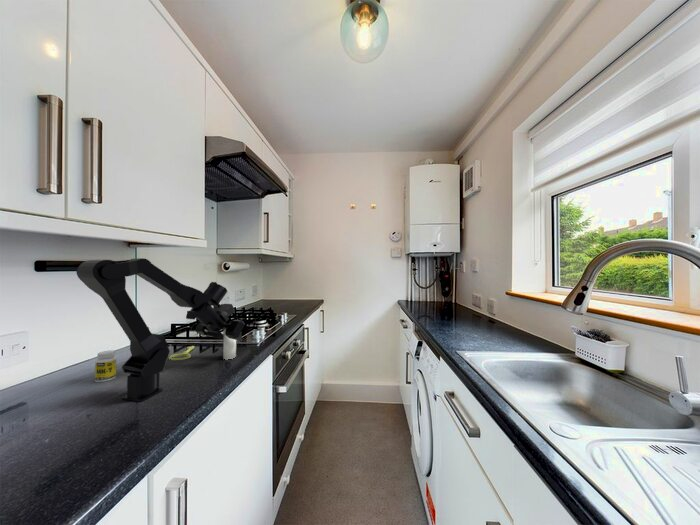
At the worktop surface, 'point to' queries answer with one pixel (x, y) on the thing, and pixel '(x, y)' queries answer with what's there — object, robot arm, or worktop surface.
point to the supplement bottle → (105, 366)
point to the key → (182, 354)
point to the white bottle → (229, 348)
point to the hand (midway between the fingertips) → (232, 338)
